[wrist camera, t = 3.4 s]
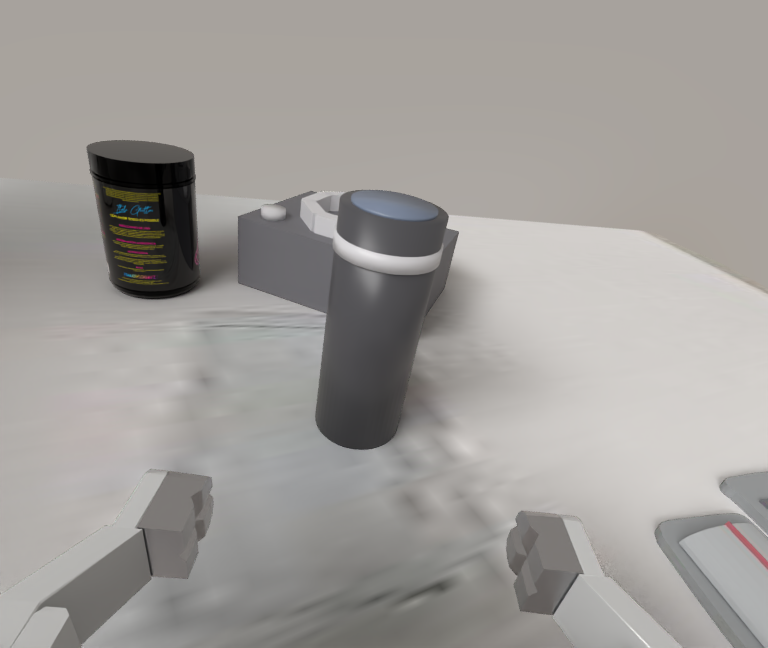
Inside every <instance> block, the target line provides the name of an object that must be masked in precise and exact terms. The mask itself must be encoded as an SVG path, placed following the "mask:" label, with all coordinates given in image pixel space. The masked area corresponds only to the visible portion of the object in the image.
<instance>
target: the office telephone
mask: <svg viewBox="0 0 768 648" xmlns="http://www.w3.org/2000/svg"><path fill="white" fill-rule="evenodd" d="M720 490H721V491H722V493H723V494H724V495H726V496H727V497H728V498H730V499H731V500H732V501H733V502H734V503H735V504H736V505H738V506H739V507H740V508H741V509H742V510H743V511H744V512H745V513H746V514H747V515H748V516H749V517H750V518H751V519H752V520H753V521H754V522H755V523H756V524H757V525H758V526H759V527H760V528H761V529H762V530H763V531H765V532H766V533H767V534H768V472H760V473H752V474H746V475H740V476H734V477H729V478H726V479H725V480H724V481H723V483H722V484H721V485H720ZM655 537H656V539H657V543H658V545H659V546H660V548H661V549H662V551H663V552H664V553H665V555H666V556H667V558H668V559H669V560H670V562H671V563H672V565H673V566H674V568H675V569H676V570H677V572H678V573H679V575H680V576H681V577H682V579H683V580H684V582H685V583H686V584H687V586H688V587H689V589H690V590H691V591H692V593H693V594H694V595H695V597H696V598H697V599H698V601H699V602H700V604H701V605H702V606H703V608H704V609H705V610H706V612H707V613H708V614H709V616H710V617H711V618H712V620H713V621H714V622H715V624H716V625H717V627H718V628H719V629H720V631H721V632H722V633H723V635H724V636H725V637H726V638H727V640H728V641H729V642H730V643H731V645H732V646H733V647H734V648H768V537H767V536H766V535H765V534H764V533H763V532H762V531H761V530H760V529H759V528H758V527H757V526H755V525H754V524H753V523H752V522H751V521H750V520H749V519H747V518H746V517H745V516H743V515H740V514H736V513H730V514H717V515H707V516H700V517H692V518H684V519H676V520H668V521H665V522H662V523H661V524H660V525H659V527H658V528H657V529H656V531H655Z"/></svg>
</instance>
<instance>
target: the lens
mask: <svg viewBox="0 0 768 648" xmlns="http://www.w3.org/2000/svg"><path fill="white" fill-rule="evenodd" d="M448 218H449V216H448V214H447V213H446V212H445V211H444V210H443V209H442V208H440V207H438V206H436V205H434V204H432V203H430V202H427V201H425V200H422V199H419V198H417V197H414V196H410V195H406V194H402V193H397V192H391V191H382V190H356V191H351V192H346V193H344V194H342V195H341V196H340V201H339V210H338V219H337V224H336V225H335V227H334V235H333V249H334V254H333V263H332V272H331V281H330V290H329V299H328V308H327V317H326V325H325V334H324V343H323V352H322V361H321V370H320V379H319V388H318V397H317V406H316V415H315V418H316V423H317V426H318V428H319V430H320V431H321V432H322V434H323V435H324V436H325V437H327V438H328V439H329V440H331V441H332V442H334V443H336V444H338V445H340V446H343V447H346V448H351V449H361V450H362V449H372V448H376V447H379V446H381V445H383V444H385V443H387V442H388V441H389V440H391V438H392V437H393V436H394V435H395V433H396V430H397V427H398V423H399V419H400V415H401V411H402V406H403V402H404V398H405V394H406V390H407V386H408V382H409V378H410V374H411V370H412V366H413V361H414V357H415V353H416V349H417V345H418V341H419V337H420V333H421V329H422V325H423V320H424V316H425V312H426V308H427V304H428V300H429V296H430V292H431V288H432V284H433V280H434V275H435V271H436V268H437V267H438V266H439V264H440V260H441V256H442V252H443V247H444V245H443V239H444V234H445V230H446V226H447V222H448Z"/></svg>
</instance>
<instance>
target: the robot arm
mask: <svg viewBox="0 0 768 648" xmlns="http://www.w3.org/2000/svg"><path fill="white" fill-rule="evenodd" d="M211 488H212V477H208V476H201V475H194V474H187V473H179V472H172V471H164V470H156V469H150V470H149V471H147V472H146V473H145V474H144V476H143V477H142V479H141V480H140V482H139V484H138V485H137V487H136V488H135V490H134V492H133V493H132V495H131V496H130V498H129V500H128V501H127V503H126V504H125V506H124V508H123V509H122V511H121V512H120V514H119V516H118V517H117V519H116V520H115V522H114V524H113V525H112V526H109V525H105V526H104V527H102V528H101V529H99V530H98V531H96V532H95V533H93V534H92V535H90V536H89V537H87V538H86V539H84V540H83V541H81V542H80V543H78V544H77V545H75V546H74V547H72V548H71V549H69V550H68V551H66V552H64V553H63V554H61V555H60V556H58V557H57V558H55V559H54V560H52V561H51V562H49V563H48V564H46V565H45V566H43V567H42V568H40V569H39V570H37V571H36V572H34V573H33V574H31V575H30V576H28V577H27V578H25V579H24V580H22V581H20V582H19V583H17V584H16V585H14V586H13V587H11V588H10V589H8V590H7V591H5V592H4V593H2V594H1V595H0V648H82V647H81V644H83V643H84V642H85V641H86V640H87V639H88V638H89V637H90V636H91V635H92V634H93V633H94V632H95V631H96V630H98V629H99V628H100V627H101V626H102V625H103V624H104V623H105V622H106V621H107V620H108V619H109V618H110V617H111V616H112V615H114V614H115V613H116V612H117V611H118V610H119V609H120V608H121V607H122V606H123V605H124V604H125V603H126V602H127V601H129V600H130V599H131V598H132V597H133V596H134V595H135V594H136V593H137V592H138V591H139V590H140V589H141V588H142V587H143V586H145V585H146V584H147V583H148V582H149V581H150V580H151V577H165V578H180V579H188V577H189V575H190V572H191V570H192V568H193V565H194V563H195V560H196V558H197V555H198V553H199V552H198V541H200V540H201V539H202V538H203V537H205V536H206V533H207V530H208V528H209V525H210V521H211V517H212V514H213V505H214V504H213V497H212V496H211V495H210V494H209V493H210V491H211ZM516 523H517V526H516V527H515V528H513V529H511V530H510V533H509V535H508V538H507V547H506V551H507V559H508V563H509V567H510V569H511V570H512V571H513V572H514V573H515V574H516V575H517V578H516V580H515V583H514V588H515V592H516V596H517V600H518V604H519V608H520V611H523V612H531V613H539V614H547V615H553V619H554V620H555V621H556V623H557V624H558V626H559V627H560V628H561V630H562V631H563V632H564V634H565V635H566V637H567V638H568V639H569V641H570V642H571V643H572V645H573V646H574V648H683V647H682V646H681V645H680V644H679V643H678V642H677V641H676V640H675V639H674V638H673V637H672V636H671V635H670V634H669V633H668V632H666V631H665V630H664V629H663V628H662V627H661V626H660V625H659V624H658V623H657V622H656V621H655V620H654V619H653V618H652V617H651V616H650V615H649V614H648V613H647V612H646V611H645V610H644V609H643V608H642V607H641V606H640V605H639V604H638V603H637V602H636V601H635V600H634V599H633V598H632V597H631V596H630V595H629V594H627V593H626V592H625V591H624V590H623V589H622V588H621V587H620V586H619V585H618V584H617V583H616V582H615V581H614V580H613V579H612V578H611V577H605V575H604V572H603V570H602V568H601V566H600V563H599V561H598V559H597V557H596V554H595V552H594V550H593V548H592V545H591V543H590V541H589V539H588V536H587V534H586V532H585V529H584V527H583V525H582V523H581V521H580V519H579V518H578V517H575V516H566V515H557V514H551V513H541V512H530V511H521V512H519V513H518V515H517V517H516Z"/></svg>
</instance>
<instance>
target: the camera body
mask: <svg viewBox="0 0 768 648" xmlns="http://www.w3.org/2000/svg"><path fill="white" fill-rule="evenodd" d="M344 193H346V192H333V191H324V192H322V191H321V192H318V193H317V192H313V191H310V192H307V193H304V194H301V195H298V196H295V197H293V198H290V199H287V200H284V201H281V202H278V203H275V204H265V205H262V206H261V209H258V210H255V211H252V212H250V213H247V214H244V215H241V216H238V283H241V284H243V285H246V286H249V287H252V288H255V289H258V290H261V291H264V292H267V293H269V294H272V295H275V296H278V297H281V298H284V299H287V300H290V301H293V302H295V303H298V304H301V305H304V306H307V307H310V308H313V309H316V310H318V311H321V312H324V313H327V308H328V299H329V290H330V281H331V272H332V263H333V254H334V249H333V235H334V227H335V225H336V224H337V219H338V210H339V201H340V196H341V195H342V194H344ZM458 234H459V232H458V231H455V230H451V229H447V228H446V230H445V234H444V239H443V245H444V247H443V252H442V256H441V260H440V264H439V266H438V267H437V268H436V271H435V275H434V280H433V284H432V288H431V292H430V296H429V300H428V304H427V308H426V312H425V316H426V314H427V313H428V311H429V310H430V308H431V307H432V305H433V304H434V302H435V301H436V299H437V298H438V297H439V295H440V294H441V292H442V291H443V289H444V287H445V284H446V280H447V276H448V272H449V268H450V264H451V261H452V257H453V253H454V249H455V245H456V241H457V238H458ZM425 316H424V317H425Z"/></svg>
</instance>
